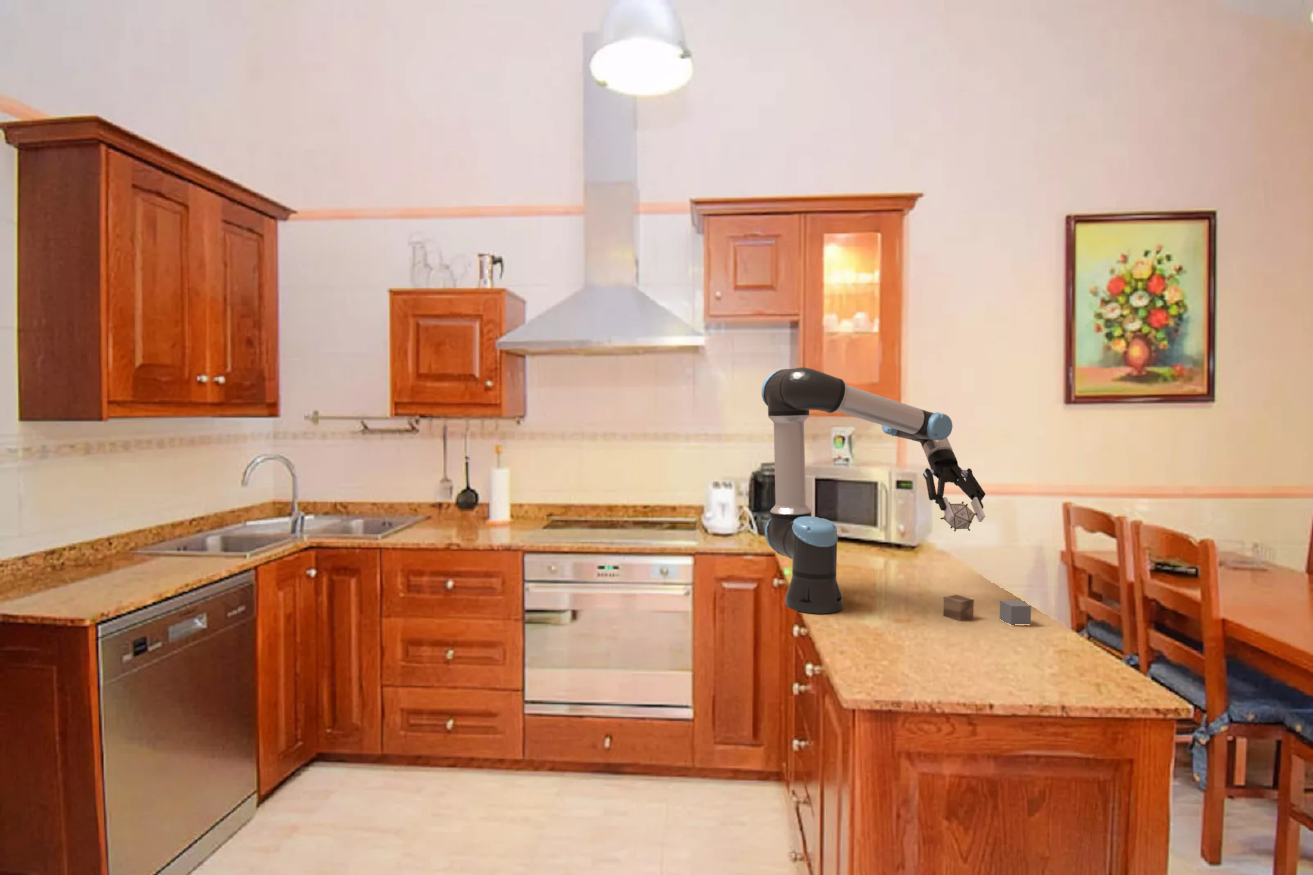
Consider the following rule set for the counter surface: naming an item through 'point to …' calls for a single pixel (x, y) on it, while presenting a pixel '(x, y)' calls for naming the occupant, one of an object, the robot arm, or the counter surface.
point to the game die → (960, 516)
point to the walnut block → (958, 607)
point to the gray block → (1015, 612)
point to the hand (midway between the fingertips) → (966, 518)
